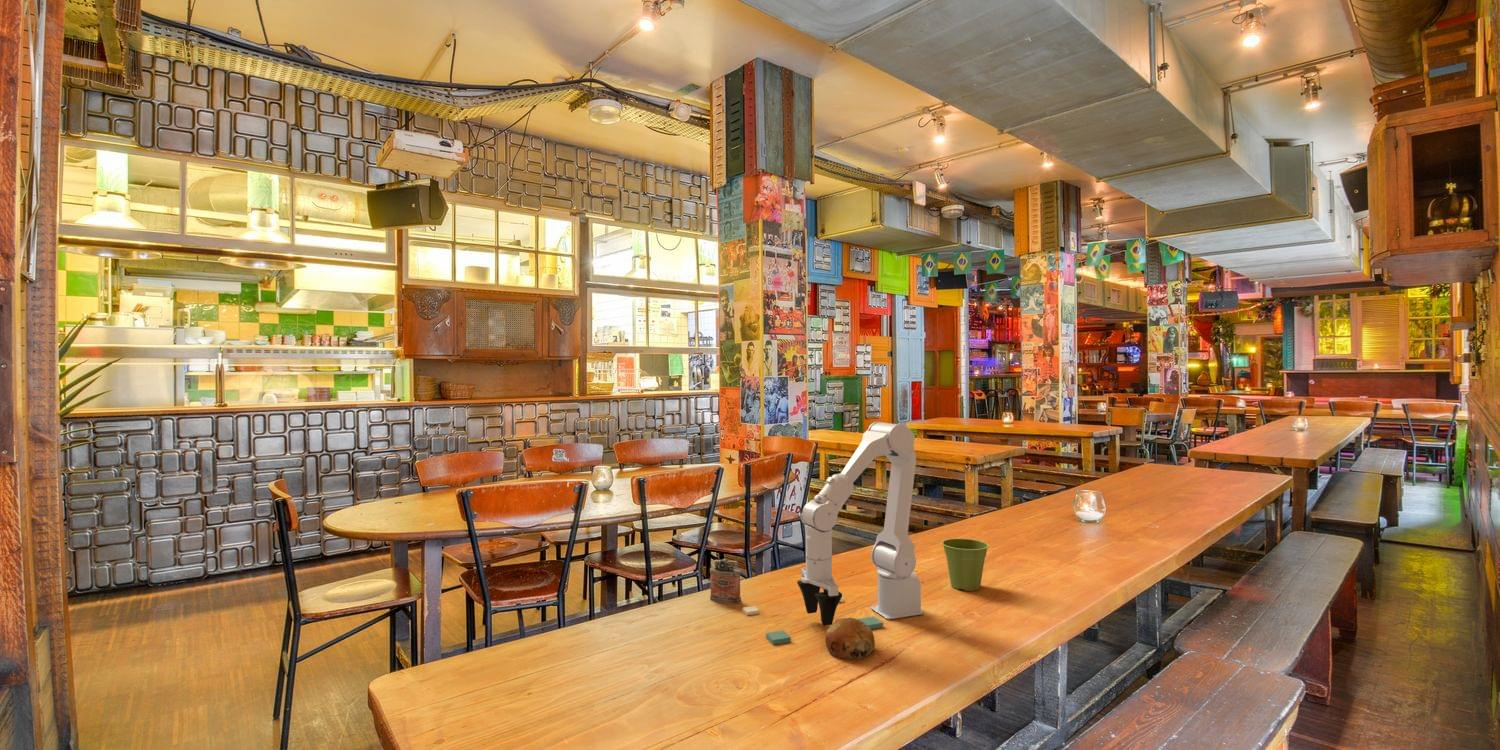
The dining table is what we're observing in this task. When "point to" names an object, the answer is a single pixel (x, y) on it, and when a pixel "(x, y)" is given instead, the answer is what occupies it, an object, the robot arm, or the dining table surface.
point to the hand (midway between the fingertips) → (819, 618)
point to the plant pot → (965, 562)
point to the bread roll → (850, 639)
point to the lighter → (725, 582)
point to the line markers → (783, 637)
